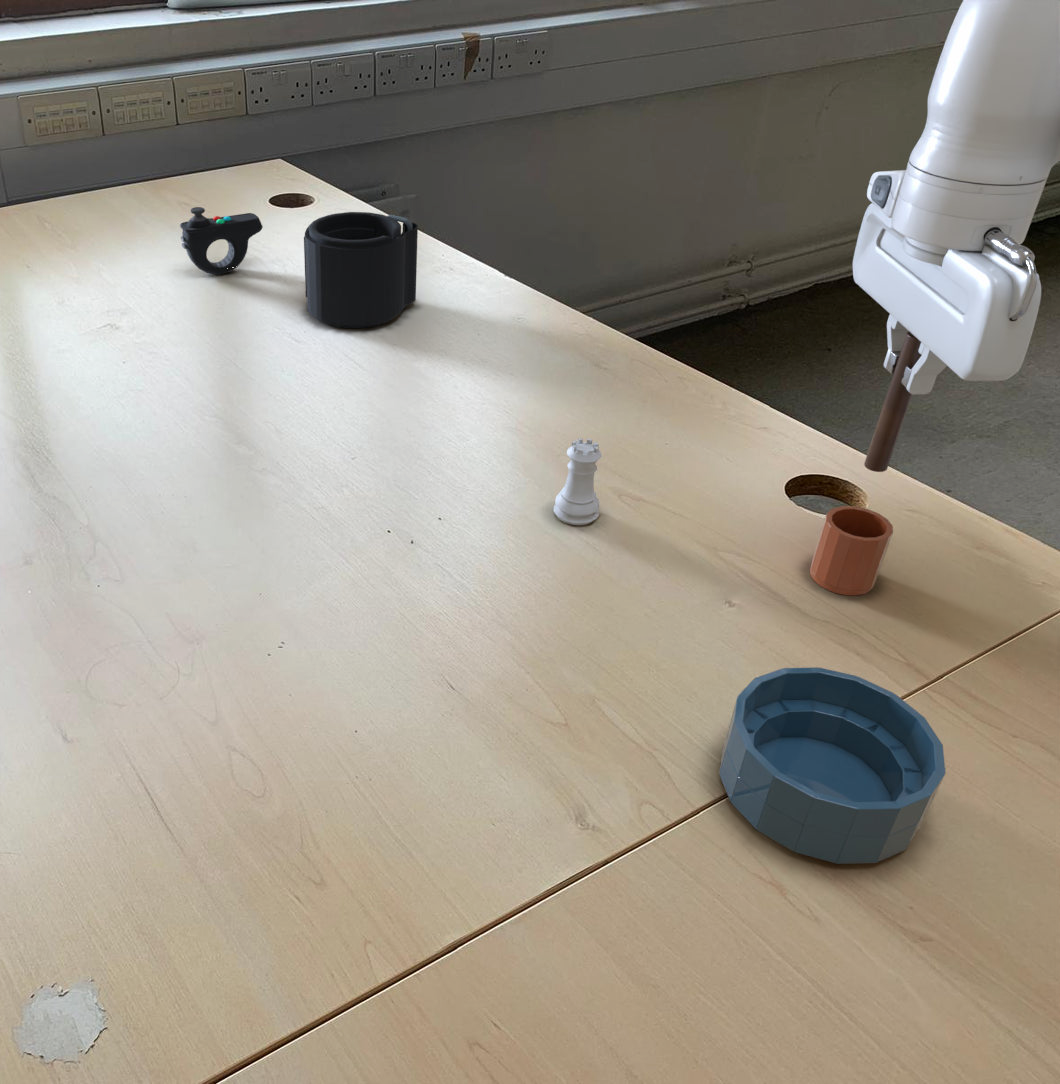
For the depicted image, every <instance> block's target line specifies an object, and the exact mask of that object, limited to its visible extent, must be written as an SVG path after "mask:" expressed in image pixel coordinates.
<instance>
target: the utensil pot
mask: <svg viewBox="0 0 1060 1084" xmlns="http://www.w3.org/2000/svg"><path fill="white" fill-rule="evenodd" d="M892 524H893V523H891V521H889V519H888V518H887V517H885V516H884V515H882V514H880V513H879V512H877V511H874V510H871V509H869V508H865V507H860V506H854V505H841V506H837V507H833V508H832V509H830V510H829V511H828V512H827V513H826V514H825V518H824V521H823V524H822V527H821V530H820V534H819V537H818V539H817V544H816V547H815V550H814V553H813V556H812V560H811V565H810V567H809V568H810V569H809V575H810V577H811V579H812V580H813V582H815V584H817V585H818V586H819V587H820V588H821V587H822V588H823V589H825V590H826V591H829V592H831V593H835V594H837V595H844V596H861V595H865V594H867V593H869V592H871V591H872V589H873V588H874V586H875V583H876V582H877V579H878V576H879V573H880V570H881V568H882V566H883V563H884V559H885V557H886V553H887V551H888V548H889V546H890V543H891V540H892V537H893V534H894V526H893V525H892Z"/></svg>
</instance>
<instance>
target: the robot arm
mask: <svg viewBox="0 0 1060 1084" xmlns="http://www.w3.org/2000/svg"><path fill="white" fill-rule="evenodd" d="M926 115H927V116H926V121H925V126H924V129H923V131H922V134H921V136H920V137H919V139H918V141H917V142H916V143H915V146H914V147H913V149H912V150H911V152H910V154H909V155H910V156H909V158H908V162H907V165H906V169H900V170H899V169H898V170H897V169H896V170H884V171H881V170H880V171H876V172H874V173H872V175H871V177H870V180H869V182H868V186H867V190H866V197H867V199H868V200H869V202H871V203H870V204H869V205H868V206H867V208H866V210H865V212H864V214H863V217H862V220H861V221H862V222H861V225H860V228H859V232H858V236H857V240H856V244H855V247H854V248H855V249H854V253H853V258H852V276H853V281H854V284H856V285H858V286H859V288H860V289H862V291H864V292H865V293H866V294H867V295H869V297H871V298H872V299H873V300H874V301H875V302H876V303H877V304H878V305H880V306H881V307H882V308H883V309H884V310H885V311H886V312H887V313H889V315H888V318H887V321H886V338H887V339H886V340H887V352H886V355H885V358H884V360H883V361H884V362H883V368H884V369H886V371H887V372H889V374H890V375H892V376H893V374H894V371H895V367H896V364H897V361H898V358H899V355H900V352H901V349H902V346H903V343H904V340H905V337H906V334H907V332H908V331H910V332H911V333H912V334H913V335H914V336H915V337H916V338H917V339H918V340H920V341H921V344H920V347H919V350H918V351H919V353H920V354H921V355H922V356H921V357H920V359H919V360H918V361H917V363H916V364H915V365H914V366H906V369H905V372H904V377H903V378H902V381H901V384H902V385H903V386H904V387H905V388H906V389H907V390H908V392H909V393H911V394H913V395H928V394H929V393H931V391H932V390H933V388H934V385H935V383H936V380H937V377H938V375H939V374H940V373H942V372H943V370H945V369H946V368H947V367H948V368H949V369H950V370H952V372H953V373H954V374H956V375H957V376H958V377H959V378H960V379H961V380H963V381H968V382H998V381H999V382H1000V381H1001V382H1002V381H1007V380H1008V379H1010V378H1012V377H1013V376H1014V375H1015V374H1017V373H1019V371H1020V369H1021V367H1022V365H1023V364H1024V360H1025V357H1026V355H1027V352H1028V349H1029V345H1030V342H1031V339H1032V336H1033V332H1034V329H1035V325H1036V322H1037V317H1038V313H1039V310H1040V305H1041V299H1042V284H1041V280H1040V275H1039V273H1037V268H1036V263H1035V258H1036V256H1035V254H1034V252H1033V250H1031V249H1030V248H1028V247H1027V246H1025V245H1022V244H1023V242H1024V241H1025V239H1026V237H1027V234H1028V231H1029V229H1030V226H1031V223H1032V221H1033V217H1034V215H1035V212H1036V210H1037V207H1038V205H1039V202H1040V200H1041V197H1042V194H1043V191H1044V188H1045V187H1046V186H1045V185H1046V183H1047V180H1048V178H1049V175H1050V173H1051V170H1052V168H1053V167H1054V166H1055V165H1056V164H1057V163H1060V0H962V2H961V4H960V6H959V8H958V11H957V12H956V15H955V17H954V19H953V22H952V24H951V26H950V29H949V32H948V34H947V37H946V39H945V42H944V45H943V47H942V51H941V53H940V56H939V59H938V62H937V65H936V68H935V72H934V73H933V77H932V82H931V84H930V87H929V91H928V95H927V114H926Z"/></svg>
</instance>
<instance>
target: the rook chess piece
mask: <svg viewBox="0 0 1060 1084" xmlns="http://www.w3.org/2000/svg"><path fill="white" fill-rule="evenodd" d="M599 446H600V445H599V443H598V442H597V441H594V442H593V439H592V438H587V439H586V441H584V438H583V437H580V438H577V439H576V440H572V442H571V445H570V447H568V448H567V450H566V455H567V457H568V458H569V459H570V461H569V462H568V463H567V469H568V474H567V477H566V481H565V485H564V486H563V488H562V489H560V492H559V493H558V494H557V495H556V496H555V500H554V503H555V504H554V505H553V513H554V514H555V515H556V517H557V519H559V520H560V521H562V523H565V524H568V525H571V526H585V525H589V524H590V523H593V522H594V521H595V520H596V519H597V518H598V517H599V516H600V511H599V509H600V499H599V498H598V497H597V492H596V491H595V486H594V485H595V482H594V480H595V473H596V471H598V466H597V465H596V463H597V462H598V461H599V460H600V459H601V458H602V452H601V451H600V449H599V448H600V447H599Z"/></svg>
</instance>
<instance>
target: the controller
mask: <svg viewBox="0 0 1060 1084" xmlns="http://www.w3.org/2000/svg"><path fill="white" fill-rule="evenodd" d="M205 212H206V209H205V208H204V207H201V206H195V207H192V208H191V209H190V213H191V214H193V216H192V217H191V218H190V219H189V220H188V221H184V222H181V223H180V224H179V226H180V229H181V230H182V232H181V233H182V235H181V236H180V240H181V241H182V243H181V247H182V248H183V249H184V250H185V251H186V253H187V256H188V258H189V259H190V261H191V263H193V265H194V266H196V267H197V268H198V269H199V270H201V271H202V272H203V273H204V272H205V273H207V274H210V275H217V276H218V275H223V274H228V273H230V272H231V271H233V270H235V269H236V268H237V267H239V265H240V264H241V263H242V262H243V261H244V259H245V257H246V255H247V252H248V248H249V240H250V239H251V238H252V237H253V236H255V235H256V234H258V233H260V232H261V231H262V230H263V228H264V227H263V224H262V221H261V219H260V218H259V216H257V214H255V213H252V212H246V213H239V214H233V215H225V216H218V215H215V216H214V217H213V218H211V217H206V216H204V213H205ZM220 240H225V241H226V242H227V244H228V250H227V253H226V255H225V256H224V258H223V259H221V260H219V261H215V262H213V261H210V260H209V259H208V255H207V254H208V249H209V248H210V246H211V245H212V244H214V242H217V241H220ZM236 266H237V267H236ZM232 267H234V268H232ZM227 268H228V269H227Z"/></svg>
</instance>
